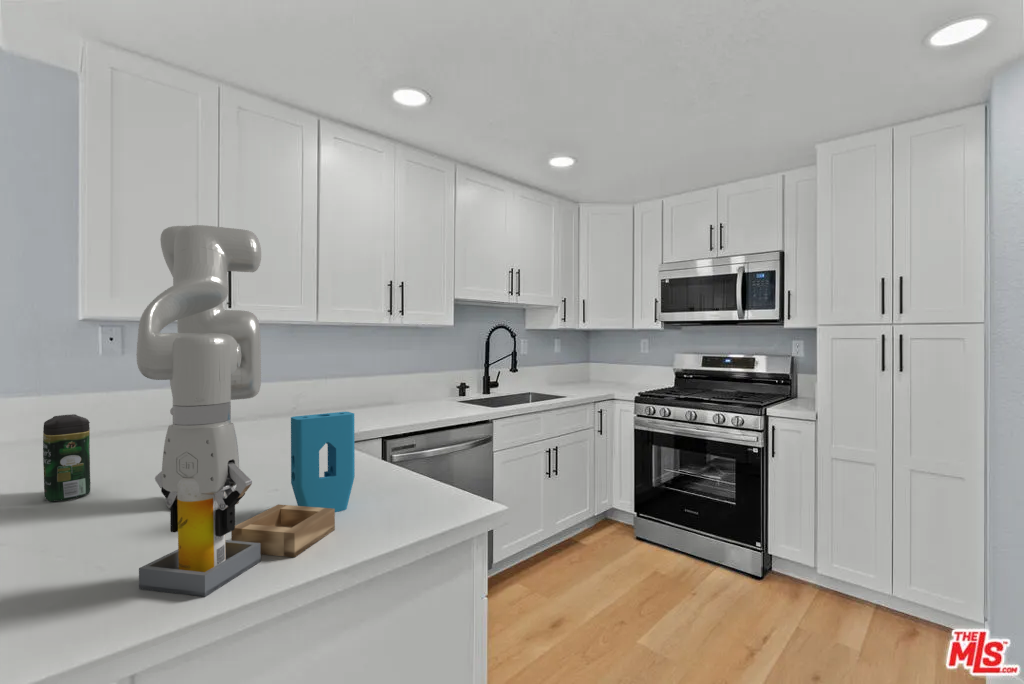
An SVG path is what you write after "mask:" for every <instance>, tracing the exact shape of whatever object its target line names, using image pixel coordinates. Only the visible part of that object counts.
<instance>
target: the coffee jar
mask: <svg viewBox="0 0 1024 684" xmlns="http://www.w3.org/2000/svg"><path fill="white" fill-rule="evenodd" d="M90 423H91V422H90V421H89V419H88V418H86V417H83V416H80V415H77V414H76V413H75V414H74V413H73V414H72V413H71V414H61V415H54V416H53V417H51V418H49V419H47V420H45V421H44V422H43V427H42V428H43V432H42V434H43V435H42V436H43V437H42V438H43V440H42V462H43V463H42V464H43V493H44V494H43V495H44V498H45V499H46V500H47V501H49V502H60V501H63V502H64V501H72V500H76V499H77V498H81V497H84V496H85V497H86V496H88V495H89V494H90V493H91V454H90V453H91V451H90V450H91V449H90V446H91V443H90V442H91V441H90V439H91V438H90V431H91V430H90V429H91V427H90Z"/></svg>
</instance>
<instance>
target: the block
mask: <svg viewBox="0 0 1024 684" xmlns="http://www.w3.org/2000/svg"><path fill="white" fill-rule="evenodd" d="M325 445H327V470H326V471H325V470H324V472H323V476H320V451H321V449H322V448H323V447H325ZM355 447H356V446H355V413H354V412H350V411H336V412H327V413H326V412H325V413H317V414H316V413H315V414H305V415H294V416H291V417H290V484H291V487H292V490H293V494H294V497H295V500H296V504H297V505H296V506H306V507H319V508H332V509H335V513H339V512H342V511H343V512H344V511H346V510H347V509H348V505H349V500H350V497H351V494H352V488H353V484H354V481H355V469H356V468H355V465H356V464H355V462H356V461H355V457H356V456H355V455H356V454H355Z"/></svg>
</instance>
